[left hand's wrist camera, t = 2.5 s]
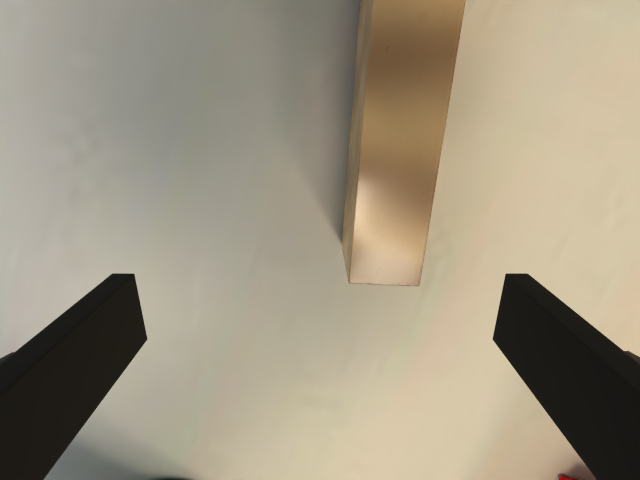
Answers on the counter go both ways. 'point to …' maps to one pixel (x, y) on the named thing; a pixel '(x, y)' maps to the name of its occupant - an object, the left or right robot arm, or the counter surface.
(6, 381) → the left robot arm
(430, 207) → the beam
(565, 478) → the toy
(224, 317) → the counter surface
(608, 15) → the counter surface
